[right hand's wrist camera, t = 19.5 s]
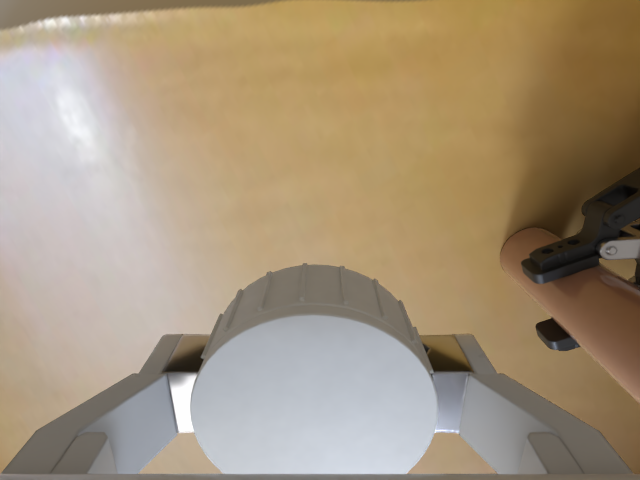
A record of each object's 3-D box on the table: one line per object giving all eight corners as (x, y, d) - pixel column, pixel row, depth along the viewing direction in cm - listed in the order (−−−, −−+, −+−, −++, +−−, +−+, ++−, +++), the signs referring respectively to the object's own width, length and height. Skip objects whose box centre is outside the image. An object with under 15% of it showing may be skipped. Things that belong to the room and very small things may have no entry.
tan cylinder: (516, 289, 32) (750, 525, 15) (489, 250, 31) (709, 456, 13) (567, 258, 31) (882, 471, 14) (541, 216, 30) (852, 391, 12)
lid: (427, 259, 10) (457, 310, 7) (409, 429, 12) (429, 507, 10) (202, 261, 10) (169, 311, 7) (224, 430, 12) (202, 507, 10)
